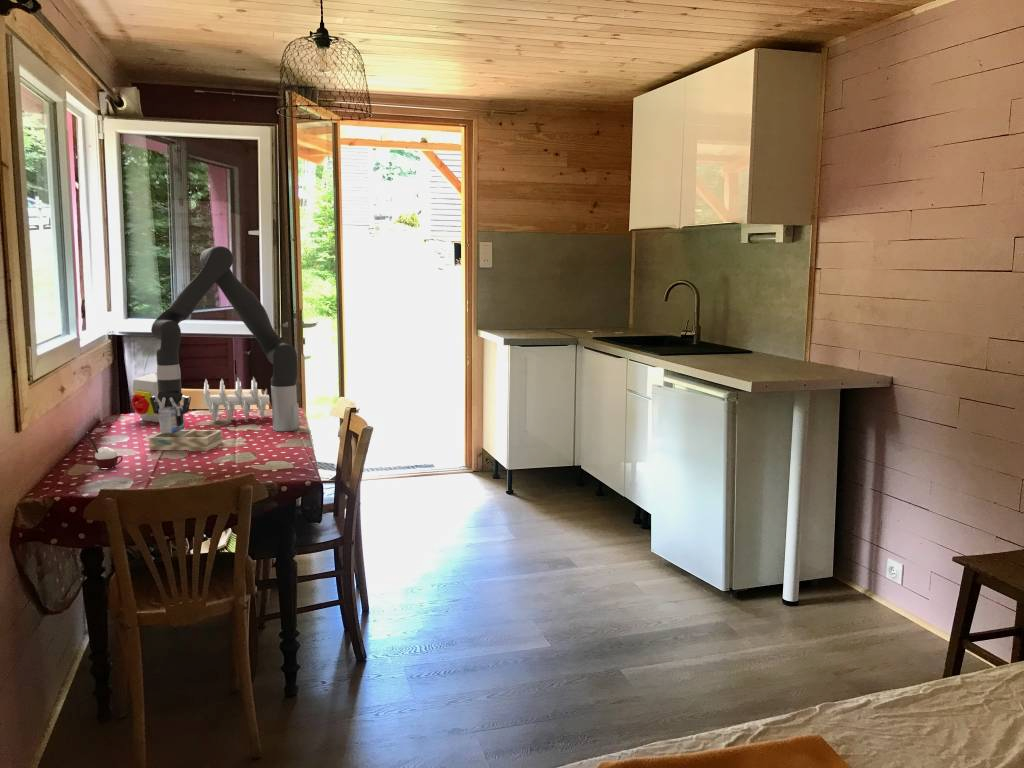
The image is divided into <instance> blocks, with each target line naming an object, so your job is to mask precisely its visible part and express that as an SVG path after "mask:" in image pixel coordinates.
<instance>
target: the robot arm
mask: <svg viewBox="0 0 1024 768" xmlns="http://www.w3.org/2000/svg"><path fill="white" fill-rule="evenodd" d="M199 259H200V266H201V267H202V268H201V270H200V271H199V272H198V273H197V275H196V276H195V277H194V278H193V279H191V281H190V282H189V283H187V284H186V286H184V288H183V289H181V291H180V292H179V293H178V295H177V296H176V297H175V299H174V300H173V301H172V303H171V304H170V306H168V308H167V309H165V310H164V311H163V312H162V313H161V314H160V315H159V316H157V318H155V320H154V322H153V323H152V325H151V329H150V331H151V334H152V337H154V338H155V339H158V340H160V347H159V348H157V350H156V354H155V355H156V373H157V383H158V392H159V393H158V396H153V397H151V398H150V402H151V405H152V408H153V411H154V413H155V414H159V409H160V408H164V407H168V406H171V407H173V408H174V410H175V411H176V413H177V415H178V416H177V426H182V424H183V414H184V415H185V414H187V413H188V412H190V411H189V410H190V406H191V405H190V404H191V399H192V397H191V396H189V395H188V396H185V395H183V393H182V378H181V377H182V376H181V375H182V374H181V367H180V358H179V356H180V355H179V350H180V346H181V339H182V331H181V330H182V329H181V327H180V325H179V324H180V323H181V322H182V321H183V322H184V321H185V320H187V319H188V318H189V317H190V315H192V313H193V312H194V311H195V309H196V307H197V306H198V305H199V303H201V300H203V298H204V297H205V295H206V294H207V293H208V291H210V289H211V288H212V287H213V286H214V284H216V285H217V286H218V288H219V289H220V290H221V292H222V293H223V295H224V296H225V298H226V299H227V301H228V302H229V304H230V305H231V307H232V309H233V310H234V311H235V313H236V314H237V315H238V317H239V319H240V320H241V321H242V323H243V324H244V325H245V326H246V328H247V329H248V331H249V332H250V333H251V334H252V335H253V337H255V339H256V341H257V342H258V344H259V345H260V347H261V349H262V351H263V353H264V355H265V357H266V358H267V360H268V361H269V362H270V364H272V365H273V367H272V371H273V372H272V377H271V378H270V390H271V391H270V395H271V396H270V397H271V413H272V415H271V416H272V430H273V431H274V430H275V432H291V431H296V430H298V429H299V428H300V405H299V403H298V400H297V396H298V395H297V379H298V354H297V351H296V348H294V346H292V345H291V344H288V343H285V342H284V341H283V340H282V339H281V337H279V335H278V334H277V333H276V331H275V330H274V328H273V326H272V324H271V321H270V320H271V319H270V317H269V315H268V313H267V311H266V309H265V307H264V306H263V304H262V303H261V302H260V300H259V298H258V297H257V295H255V293H254V292H253V291H251V290H250V289H249V288H248V287H247V286H246V285H245V284H243V283H242V282H241V281H240V279H238V278H237V277H236V276H235V274H234V273H233V271H232V270H231V267H232V266H233V264H234V255H233V252H232V251H231V250H230V249H229V248H227V247H226V246H222V245H218V246H217V245H215V246H212V247H209V248H206V249H204V250H203V251H202V252H201V253H200V256H199ZM158 399H159V400H160V401H161V406H160V407H159V404H158ZM180 401H182V403H183V404H182V403H180ZM181 405H183V409H182V406H181Z"/></svg>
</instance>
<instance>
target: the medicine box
mask: <svg viewBox="0 0 1024 768" xmlns="http://www.w3.org/2000/svg"><path fill="white" fill-rule="evenodd" d="M181 406H182V409H183V404H181ZM177 416H178V415H177V413H176V411H175V410H174V408H173V407H171V406H168V407H164V408H160V409H159V423H158V424H159V431H160V432H159V433H174V432H177V431H180V430H185V418H184V417H185V414H183V424H182V426H177Z"/></svg>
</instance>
